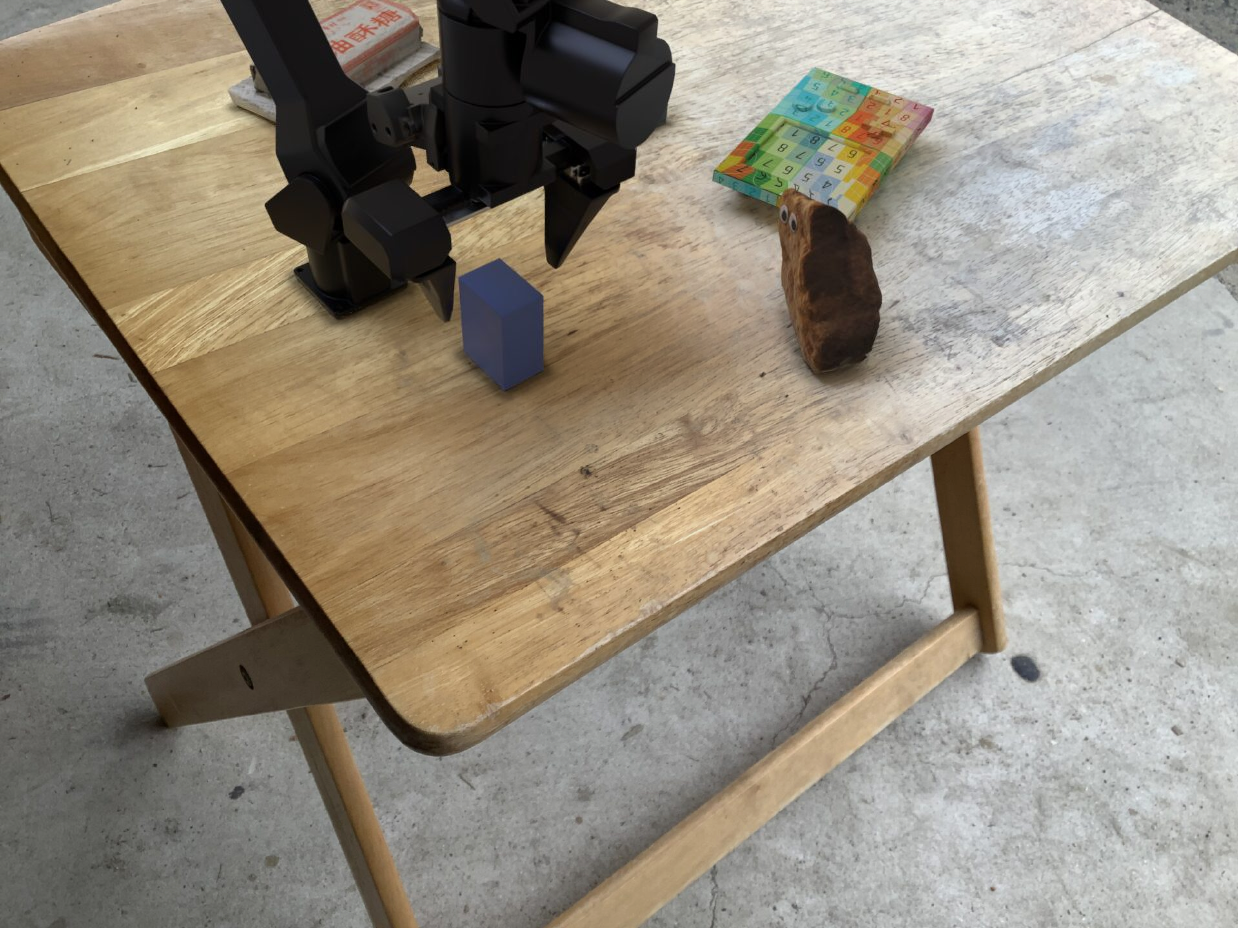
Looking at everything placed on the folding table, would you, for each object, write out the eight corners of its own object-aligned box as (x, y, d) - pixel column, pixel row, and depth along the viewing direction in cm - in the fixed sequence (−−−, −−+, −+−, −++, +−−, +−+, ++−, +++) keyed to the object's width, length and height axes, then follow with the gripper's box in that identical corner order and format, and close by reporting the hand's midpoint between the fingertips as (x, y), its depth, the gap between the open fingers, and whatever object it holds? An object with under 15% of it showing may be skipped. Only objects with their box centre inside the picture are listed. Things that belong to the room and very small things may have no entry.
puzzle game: (937, 99, 96) (847, 211, 85) (923, 145, 100) (835, 259, 88) (817, 57, 100) (715, 160, 88) (807, 103, 103) (708, 208, 92)
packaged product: (358, -21, 105) (439, 12, 101) (364, 28, 108) (443, 60, 105) (217, 55, 94) (303, 94, 91) (229, 106, 98) (312, 144, 95)
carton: (543, 370, 78) (544, 295, 73) (504, 391, 77) (501, 316, 71) (502, 332, 81) (499, 257, 75) (463, 352, 79) (457, 277, 74)
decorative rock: (756, 278, 86) (779, 161, 78) (829, 272, 87) (859, 156, 79) (800, 385, 79) (831, 268, 71) (879, 377, 80) (918, 261, 72)
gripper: (536, -19, 70) (536, 185, 82) (273, 68, 61) (316, 282, 73) (651, 55, 65) (633, 262, 77) (381, 161, 56) (408, 376, 68)
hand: (499, 291), depth 74 cm, fingers open, 9 cm apart
